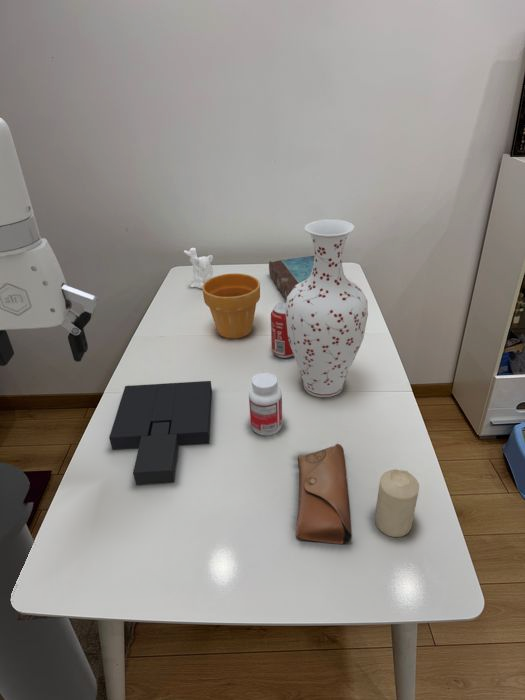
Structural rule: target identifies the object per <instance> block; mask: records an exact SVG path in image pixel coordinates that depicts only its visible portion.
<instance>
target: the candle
mask: <svg viewBox="0 0 525 700" xmlns="http://www.w3.org/2000/svg"><path fill="white" fill-rule="evenodd" d="M419 491H420V483H419V481H418V479H417V478H416V477H415V476H414V475H413V474H411V473H410V472H409V471H408V470H404V469H397V468H396V469H395V468H394V469H389V470H387V471H384V473H382V475H381V476H380V479H379V483H378V492H377V500H376V506H375V513H374V522H375V525H376V527H377V529H378V530H379V531H380V532H381V533H383V535H386V536H389V537H392V538H400V537H404V536H406V535H407V534H409V533H410V531H411V529H412V525H413V522H414V517H415V513H416V512H415V511H416V506H417V501H418V496H419Z"/></svg>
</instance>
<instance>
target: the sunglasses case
mask: <svg viewBox="0 0 525 700" xmlns="http://www.w3.org/2000/svg"><path fill="white" fill-rule="evenodd" d="M297 462H298V475H299V476H298V477H299V478H298V479H299V481H298V482H299V483H298V509H297V518H296V526H295V537H296V538H297V539H299V540H302V541H308V542H313V543H321V544H333V545H344V544H347V543H348V542H350V541H351V539H352V535H353V534H352V520H351V508H350V497H349V496H350V495H349V487H348V476H347V475H348V474H347V466H346V458H345V449H344V447H343V446H342V444H340V443H336V444H335V445H333V446H330V447H327V448H323V449H321V450H317V451H315V452H311V453H308V454H305V455H304V454H303V455H302V454H299V455H298V456H297Z"/></svg>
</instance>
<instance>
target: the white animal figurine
mask: <svg viewBox="0 0 525 700" xmlns="http://www.w3.org/2000/svg"><path fill="white" fill-rule="evenodd" d="M183 253H184V254H185V255H187V256H188V257H190V258H189V262H190V263H191V265H192V272H193V276H192V279H193V283H192V284H190V288H197V289H201V290H203V289H202V287H203V284H204V283H205V282H206V281H207V280H209V279H211V278H213V277H214V276H213V275H214V268H213V266H212V264H211V262H213V260H214V256H213V255H212V254H208V256H204V255H203V256H199V257H198V254H197V249H196V248H195V247H191V248H190V249H189V250H186V249H185V250H183Z"/></svg>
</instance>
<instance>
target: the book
mask: <svg viewBox="0 0 525 700" xmlns="http://www.w3.org/2000/svg"><path fill="white" fill-rule="evenodd" d="M314 256H315V255H309V256H301V257H294V258H286V259H279V260H275V261H271V260H270V261H269V262H268V271H269V276H270V277H271V279H272V281H273V282H274V284H275V286H276V287H277V288H278V290H279V292H280V293H281V294H282V297H283V298H284V299H285V301H286V300H287V296H288V295H289V294H290V292H291V291H292V290H293V288H294V287H295V286H296V285H297V284H299V283H301V282H303V281H305V280H306V279H308V278H309V277H310V275H311V272H312V269H313V266H314Z"/></svg>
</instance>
